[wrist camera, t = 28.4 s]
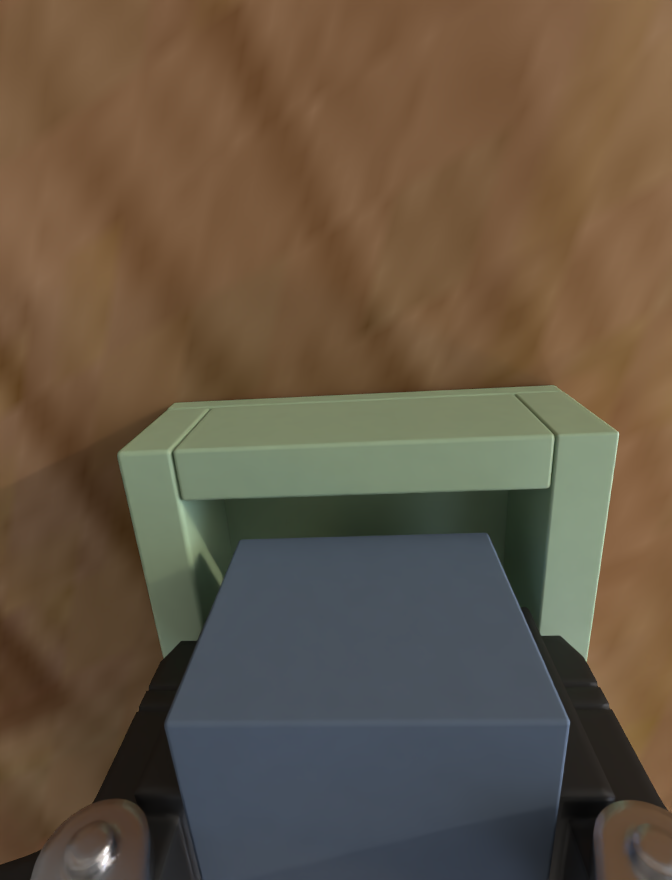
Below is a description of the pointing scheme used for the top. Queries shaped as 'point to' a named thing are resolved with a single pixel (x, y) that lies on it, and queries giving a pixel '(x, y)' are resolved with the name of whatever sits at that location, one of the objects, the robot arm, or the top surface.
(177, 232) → the top surface
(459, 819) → the blue block
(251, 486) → the frame
